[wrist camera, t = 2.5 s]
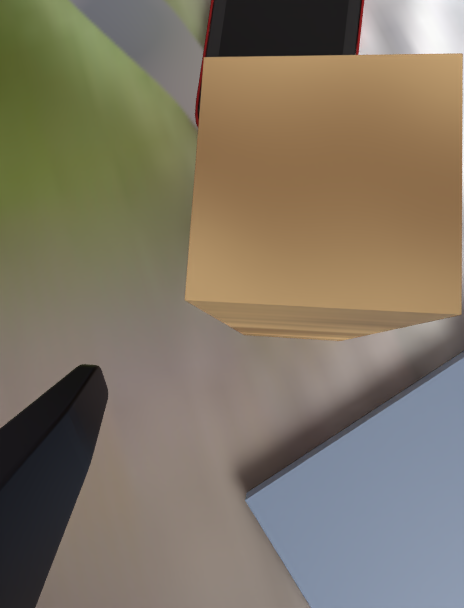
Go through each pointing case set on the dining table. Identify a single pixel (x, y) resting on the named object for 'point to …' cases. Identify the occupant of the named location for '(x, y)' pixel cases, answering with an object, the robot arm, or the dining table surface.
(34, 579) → the robot arm
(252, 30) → the cell phone
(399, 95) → the pillar block
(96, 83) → the dining table surface
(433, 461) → the board
